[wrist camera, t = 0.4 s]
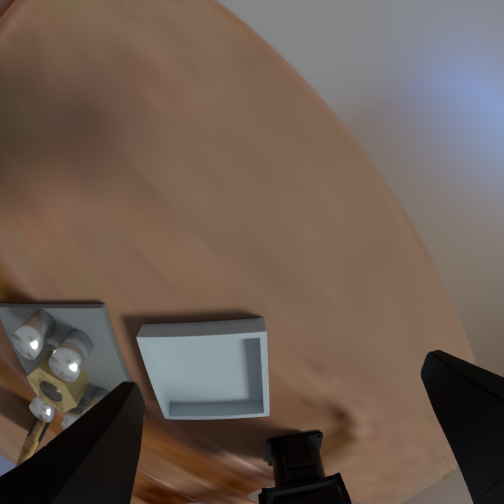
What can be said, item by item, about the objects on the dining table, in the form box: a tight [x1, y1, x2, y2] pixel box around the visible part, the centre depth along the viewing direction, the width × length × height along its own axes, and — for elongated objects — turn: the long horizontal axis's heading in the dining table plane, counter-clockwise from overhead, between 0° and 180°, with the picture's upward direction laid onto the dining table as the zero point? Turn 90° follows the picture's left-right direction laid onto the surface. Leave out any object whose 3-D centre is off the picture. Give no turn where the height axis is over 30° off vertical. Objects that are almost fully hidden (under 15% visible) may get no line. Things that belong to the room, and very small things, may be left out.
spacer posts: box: [12, 309, 111, 430], centre depth 21 cm, size 14×10×4 cm
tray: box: [136, 317, 270, 420], centre depth 24 cm, size 10×10×2 cm
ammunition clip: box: [16, 418, 50, 467], centre depth 22 cm, size 11×2×12 cm, turn 139°
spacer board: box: [0, 303, 146, 421], centre depth 23 cm, size 14×14×1 cm
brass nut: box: [27, 346, 89, 412], centre depth 21 cm, size 6×5×4 cm
